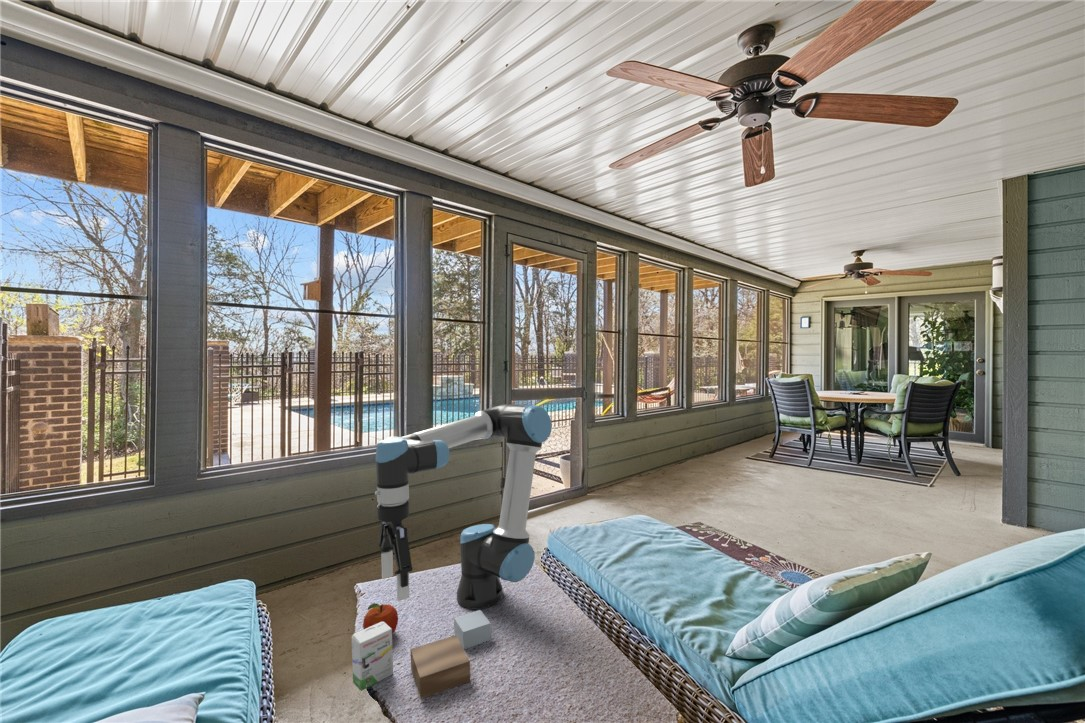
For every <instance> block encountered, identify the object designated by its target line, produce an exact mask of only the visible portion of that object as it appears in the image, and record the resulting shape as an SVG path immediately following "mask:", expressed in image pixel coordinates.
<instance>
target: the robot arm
mask: <svg viewBox="0 0 1085 723" xmlns="http://www.w3.org/2000/svg"><path fill="white" fill-rule="evenodd" d="M551 432H552V419H551V416H550V415H549V413H548V411H547V410H546V409H545V408H544V407H542V406H539V405H533V404H517V403H516V404H514V403H504V404H499V405H496V406H493V407H489V408H486V409H485V408H484V409H482V410H479V411H477V412H475V413H474V415H473V416H469V417H466V418H462V419H459V420H456V421H451V422H448V423H446V424H442V425H441V424H440V425H438V426H434V427H431V428H428V429H424V430H421V431H417V432H413V433H411V434H407V435H404V436H399V435H397V436H396V435H394V436H389V437H386V438H385V439H382V440H379V441H378V442H377V444H376V450H375V459H374V460H375V465H376V466H375V467H376V472H375V473H376V474H375V475H376V489H377V490H376V491H375V492H374V495H375V496H376V499H377V500H376V501H377V503H378V504H377V505H376V512H377V513H376V514H377V517H376V518H377V520H378V521H379V522H381V523H380V530H379V531H380V532H379V538H378V547H379V548H380V552H381V554H380V557H381V578H382V580H385V579H387V578H388V579H389V578H391V577H394V574H395V576H396V600H397V602H400V601H403V600H406V599H409V598H411V597H410V596H411V595H410V573H411V572H412V571H413V565H412V559H411V552H410V551H411V550H410V545H409V539H408V529H407V528H408V527H406V526H405V527H404V524H403V520H405V519H407V518H408V517H409V516H410V502H409V499H410V489H409V487H410V485H409V476H410V475H414V474H418V473H419V474H420V473H422V472H423V473H424V472H427V471H433V470H437V469H440V468H443V467H445V466H446V465H447V464H448V463H449V460H450V449H451V448H455V447H457V446H460V445H464V444H467V443H469V442H473V441H475V440H478V439H481V440H487V439H491V438H505V439H506V443H505V444H506V445H507V447H508V449H509V452H508V453H509V454H508V460H507V461H508V462H507V468H506V474H505V480H504V488H503V489H504V490H503V494H502V495H503V496H502V501H501V502H502V503H501V508H500V516H499V520H498V521H499V522H498V526H497V527H496V525H494V524H490V523H482V524H476V525H471V526H469V527H467V528H464V529H463V530H462V531H461V534H460V539H459V540H460V542H459V545H460V548H459V549H460V565H461V566H460V568H461V576H460V580H459V583H458V586H457V590H456V601H457V604H458V605H460V606H462V607H463V608H466V609H472V610H482V609H485V608H490V607H492V606H494V605H496V604H498V603H500V601H501V600H502V599H503V596H504V592H503V591H504V589H503V585H502V581H501V580H503V581H506V582H507V581H508V582H510V583H518V582H521V581H522V580H523V579H525V578H526V577H527V575H528V574H530V572H531V570H532V568H533V567H534V566H533V565H534V562H535V556H536V554H535V550H534V547H533V546H532V545H531V544H530V534H529V533H528V530H527V529H526V528H527V523H528V522H527V521H528V516H529V515H528V514H529V508H530V507H529V506H530V499H531V492H532V485H533V479H534V478H533V477H534V470H535V464H536V455H537V453H538V452H539V451H540V450H541V449H542V446H543V443H545V442H546V441H548V440H549V438H550V436H551V434H552V433H551ZM393 553H394V554H393ZM393 555H394V556H393ZM393 558H395V564H396V568H397V570H396V571H395V573H394V559H393ZM500 579H501V580H500Z"/></svg>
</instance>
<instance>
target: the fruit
mask: <svg viewBox="0 0 1085 723" xmlns="http://www.w3.org/2000/svg"><path fill="white" fill-rule="evenodd" d="M398 615H399V614H398V611H397V609H396V608H395V607H394V606H393V605H391V604H383V603H382V604H380V605H379V603H376V602H374V603H372V604H370V605H369V606H367V613H365V615H364V618H363V621H362V622H363V623H362V628H363V629H362V630H364V629H366V628H368V627H370V626H373V625H375V624H377V623H380V622H385V623H386V624H387V625H388V626H389V627H390V628H392V635H393V634H394V632H395V631H396V629H397V626H398V624H399V616H398Z"/></svg>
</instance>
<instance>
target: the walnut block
mask: <svg viewBox="0 0 1085 723" xmlns="http://www.w3.org/2000/svg"><path fill="white" fill-rule="evenodd" d="M409 651H410V670H411V672H412V676H413V679H414V682H415V686H416V689H417V691H418V692H417V693H418V694H419V698H420V699H421V700H422V699H425V698H427V697H431V696H434V695H436V694H439V693H442V692H444V691H447V690H450V689H453V688H455V687H458V686H461V685H463V684H467V683H470V682H471V660H470V659H469V657H468V655H467V653H466V651H465V649H463V647H462V645H461V643H460V641H459V640H458V638H457V636H456V635H452V636H449V637H446V638H443V639H439V640H436V641H432V642H430V643H426V644H422V645H419V646H416V647H412V648H410V650H409Z"/></svg>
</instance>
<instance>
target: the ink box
mask: <svg viewBox="0 0 1085 723" xmlns="http://www.w3.org/2000/svg"><path fill="white" fill-rule="evenodd" d="M393 652H394V651H393V634H392V628H390V627H389V626H388V625H387V624H386V623H385V622H380V623H377V624H375V625H373V626H370V627H368V628H366V629H362V630H359V631H357V632H355V633H353V634H352V635H351V657H352V658H351V660H352V662H351V663H352V664H351V665H352V683H353V685H355V687H357V689H358V690H359V691H360V692H362V691H364V690H366V689H368V688H370V687H371V686H373V685H375V684H377V683H379V682H381V681H382V680H384V679H386V678H388V677H390V676H392V675H393V674H394V658H393ZM366 685H367V687H366Z"/></svg>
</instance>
